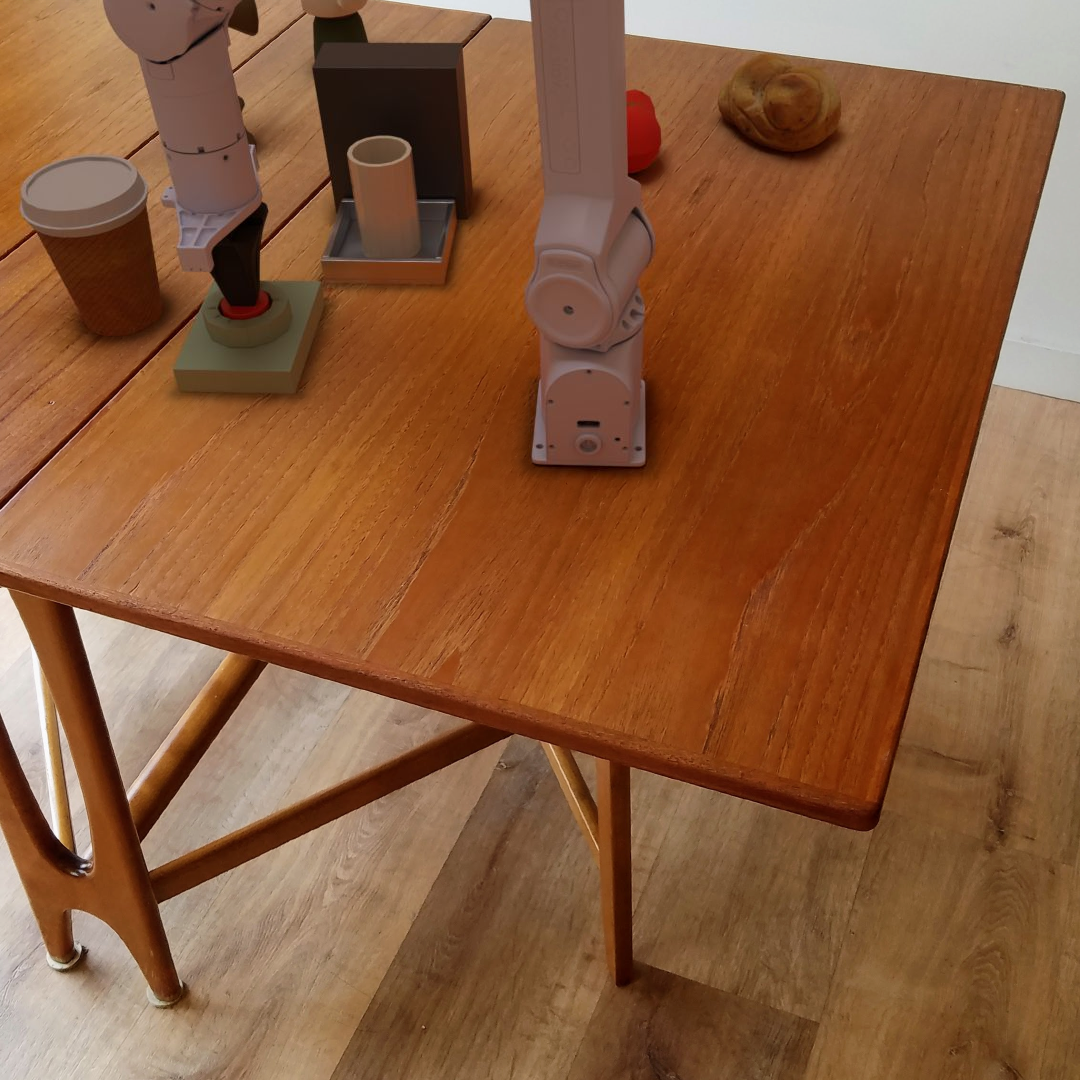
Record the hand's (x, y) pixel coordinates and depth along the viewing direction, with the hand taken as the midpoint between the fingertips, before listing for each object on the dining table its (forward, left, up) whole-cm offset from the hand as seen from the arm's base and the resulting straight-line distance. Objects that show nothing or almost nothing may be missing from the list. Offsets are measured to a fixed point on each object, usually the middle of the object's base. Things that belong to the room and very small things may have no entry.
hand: (244, 301), depth 89 cm
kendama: (+32, +10, -4) cm, 34 cm away
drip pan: (+14, -9, -4) cm, 17 cm away
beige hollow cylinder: (+14, -9, -4) cm, 17 cm away
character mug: (+51, +2, -4) cm, 51 cm away
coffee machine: (+22, -9, -4) cm, 24 cm away
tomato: (+30, -27, -4) cm, 41 cm away
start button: (0, 0, -2) cm, 2 cm away
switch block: (0, 0, -4) cm, 4 cm away
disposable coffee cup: (+4, +12, -4) cm, 13 cm away
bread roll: (+37, -44, -4) cm, 58 cm away
